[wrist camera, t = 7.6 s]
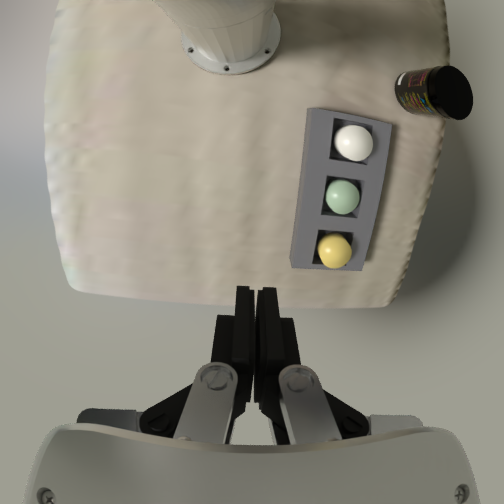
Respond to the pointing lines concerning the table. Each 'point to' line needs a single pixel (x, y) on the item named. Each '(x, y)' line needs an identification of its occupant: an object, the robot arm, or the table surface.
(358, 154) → the white button
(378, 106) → the table surface
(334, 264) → the mustard button
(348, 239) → the button panel
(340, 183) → the green button
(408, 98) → the supplement container
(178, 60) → the table surface
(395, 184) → the table surface
